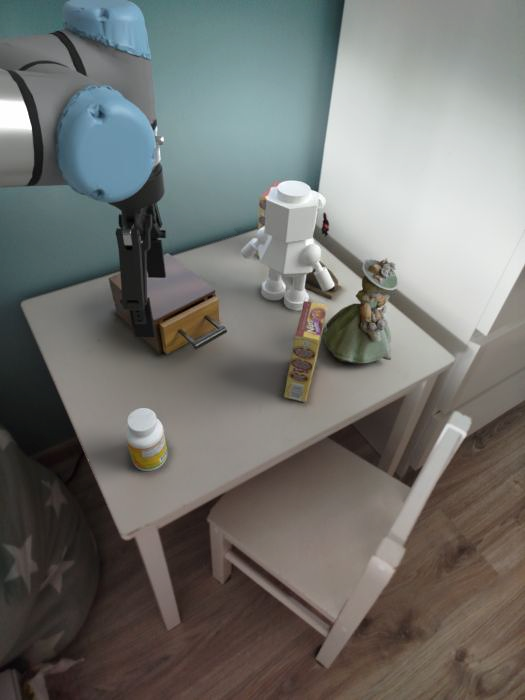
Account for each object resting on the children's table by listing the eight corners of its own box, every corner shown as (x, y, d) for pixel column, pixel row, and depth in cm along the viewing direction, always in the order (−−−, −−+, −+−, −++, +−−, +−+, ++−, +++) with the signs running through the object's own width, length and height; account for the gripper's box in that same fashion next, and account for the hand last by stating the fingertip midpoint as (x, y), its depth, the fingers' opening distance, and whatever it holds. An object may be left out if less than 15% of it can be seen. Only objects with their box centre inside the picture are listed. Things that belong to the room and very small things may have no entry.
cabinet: (216, 323, 94) (215, 289, 87) (159, 354, 87) (154, 320, 81) (171, 286, 101) (167, 252, 95) (116, 312, 94) (108, 277, 88)
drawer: (238, 341, 89) (238, 314, 84) (185, 372, 83) (182, 345, 78) (176, 290, 99) (173, 263, 94) (125, 314, 93) (119, 287, 88)
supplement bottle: (128, 448, 72) (117, 410, 65) (161, 437, 74) (155, 399, 67) (137, 477, 69) (126, 440, 62) (172, 464, 71) (165, 427, 64)
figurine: (369, 390, 83) (398, 304, 69) (304, 353, 89) (318, 267, 74) (403, 346, 92) (435, 262, 77) (342, 315, 97) (361, 231, 83)
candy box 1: (271, 261, 110) (276, 201, 99) (255, 256, 111) (258, 196, 100) (286, 243, 115) (292, 184, 104) (271, 238, 117) (275, 180, 106)
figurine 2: (277, 275, 106) (280, 242, 100) (288, 266, 109) (291, 234, 102) (331, 299, 101) (338, 266, 95) (341, 289, 103) (348, 256, 97)
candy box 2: (307, 403, 80) (320, 341, 69) (283, 398, 81) (292, 335, 70) (315, 367, 86) (328, 304, 76) (292, 362, 87) (302, 299, 76)
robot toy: (340, 302, 100) (364, 194, 82) (315, 332, 93) (336, 220, 75) (255, 267, 108) (260, 160, 90) (227, 292, 101) (226, 182, 83)
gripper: (147, 220, 46) (168, 365, 61) (172, 124, 63) (183, 256, 78) (69, 219, 45) (110, 365, 60) (115, 122, 63) (138, 255, 78)
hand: (151, 304), depth 69 cm, fingers open, 13 cm apart
